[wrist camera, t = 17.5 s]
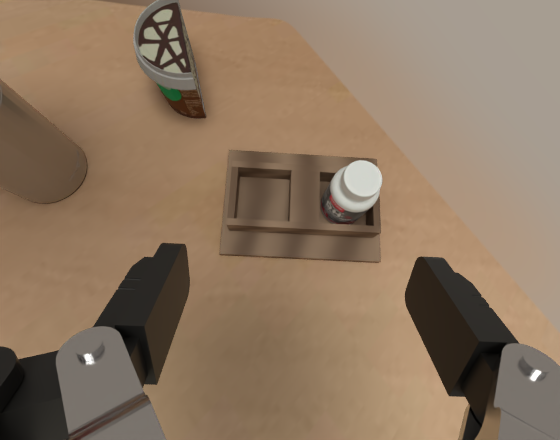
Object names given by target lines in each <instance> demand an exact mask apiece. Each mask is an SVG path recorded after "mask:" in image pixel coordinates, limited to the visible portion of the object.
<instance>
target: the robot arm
mask: <svg viewBox="0 0 560 440" xmlns="http://www.w3.org/2000/svg"><path fill="white" fill-rule="evenodd" d="M86 170H87V162H86V157H85V155H84V152H83V151H82V150H81V148H80V147H79V146H77V145H76V144H75V143H74V142H73V141H72V140H70V139H69V138H68V137H67V136H66V135H65V134H64V133H62V132H61V131H60V130H59V129H58V128H57V127H56V126H55V125H53V124H52V123H51V122H50V121H49V120H48V119H46V118H45V117H44V116H43V115H42V114H41V113H39V112H38V111H37V110H36V109H35V108H34V107H32V106H31V105H30V104H29V103H28V102H27V101H25V100H24V99H23V98H22V97H21V96H20V95H18V94H17V93H16V92H15V91H14V90H13V89H11V88H10V87H9V86H8V85H7V84H6V83H4V82H3V81H2V80H1V79H0V187H1V188H3V189H5V190H7V191H10V192H12V193H14V194H16V195H18V196H21V197H23V198H25V199H27V200H30V201H33V202H36V203H52V202H56V201H59V200H62V199H64V198H66V197H68V196H69V195H71V194H72V193H73V192H74V191H75V190H76V189H77V188H78V187H79V186H80V185H81V183H82V181H83V180H84V177H85V174H86ZM189 287H190V277H189V267H188V257H187V248H186V245H185V244H174V243H162V244H161V245H160V246H159V248H158V250H157V251H156V253H155V255H154V257H144V258H142V259H141V260H140V261H138V262H137V263H136V264H134V265H133V266H132V267H131V269H130V270H129V272H128V273H127V275H126V276H125V279H124V280H123V281H122V283H121V284H120V286H119V287H118V290H116V292H115V294H114V295H113V297H112V298H111V300H110V301H109V303H108V304H107V306H106V308H105V309H104V311H103V312H102V314H101V315H100V317H99V318H98V320H97V321H96V323H95V325H94V326H93V328H89V329H86V330H84V331H81V332H79V333H77V334H76V335H74V336H73V337H71V338H70V339H69V340H68V341H66V342H65V343H64V344H63V346H62V347H61V348H60V350H58V351H54V352H50V353H46V354H41V355H36V356H32V357H27V358H23V359H18V358H17V356H16V355H15V353H14V351H13V350H11V349H9V348H7V347H0V440H166V438H165V436H164V433H163V431H162V428H161V426H160V423H159V421H158V419H157V416H156V414H155V411H154V409H153V406H152V404H151V402H150V400H149V398H148V396H147V395H145V393H144V391H143V389H142V388H143V386H144V384H154V385H157V383H158V380H159V377H160V374H161V371H162V369H163V366H164V363H165V360H166V357H167V354H168V351H169V349H170V346H171V343H172V340H173V337H174V334H175V332H176V329H177V326H178V323H179V320H180V317H181V315H182V312H183V309H184V306H185V303H186V300H187V297H188V293H189ZM405 303H406V307H407V309H408V311H409V313H410V315H411V317H412V320H413V322H414V324H415V326H416V328H417V330H418V332H419V334H420V336H421V339H422V341H423V343H424V345H425V347H426V349H427V351H428V353H429V355H430V357H431V360H432V362H433V364H434V366H435V368H436V370H437V372H438V374H439V376H440V378H441V381H442V383H443V385H444V387H445V389H446V391H447V393H448V395H449V396H460V397H466V399H467V401H468V403H469V404H468V406H467V407H466V409H465V412H464V417H463V421H462V425H461V429H460V434H459V438H458V440H560V366H559V365H558V364H557V363H556V362H555V361H553V360H552V359H551V358H550V357H548V356H547V355H546V354H544V353H542V352H541V351H539V350H537V349H535V348H533V347H530V346H527V345H524V344H519V342H518V341H517V340H516V339H515V337H514V336H513V335H512V333H511V332H510V331H509V330H508V328H507V327H506V326H505V325H504V323H503V322H502V321H501V319H500V318H499V317H498V316H497V314H496V313H495V312H494V311H493V309H492V308H489V304H488V303H487V302H486V300H485V299H484V298H482V297H481V294H480V293H479V292H478V290H477V289H476V288H475V286H474V285H473V284H472V283H471V282H470V281H468V280H467V279H466V278H464V277H463V276H462V275H460V274H459V273H455V272H454V271H453V270H452V268H451V267H450V266H449V264H448V263H447V262H446V260H445V259H444V258H439V257H418V258H417V260H416V262H415V265H414V267H413V270H412V273H411V276H410V279H409V282H408V285H407V288H406V291H405Z"/></svg>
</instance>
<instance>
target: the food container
mask: <svg viewBox="0 0 560 440" xmlns="http://www.w3.org/2000/svg"><path fill="white" fill-rule="evenodd" d="M133 39H134V48H135V53H136V57H137V61H138V63H139V65H140V67H141V69H142V70H143V71H144V73H145V74H146V75H147V76H148V77H149V78H151V79H152V80H154V81H155V82H156V83H157V85H158V86H159V88H160V89H161V91H162V93H163V94H164V96H165V98H166V99H167V101H168V103H169V104H170V106H171V107H172V108H173V109H174V110H175V111H177V112H178V113H180V114H182V115H184V116H187V117H191V118H206V114H205V109H204V104H203V99H202V94H201V89H200V84H199V79H198V74H197V69H196V64H195V60H194V56H193V53H192V49H191V45H190V42H189V38H188V35H187V31H186V27H185V24H184V20H183V16H182V13H181V9H180V5H179V1H178V0H157V1H155V2H154V3H152V4H151V5H149V6H148V7H147V8H146V9H145V10H144V11H143V12H142V13H141V15H140V16H139V18H138V20H137V22H136V25H135V29H134V37H133Z"/></svg>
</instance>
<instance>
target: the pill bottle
mask: <svg viewBox="0 0 560 440" xmlns="http://www.w3.org/2000/svg"><path fill="white" fill-rule="evenodd" d="M381 185H382V175H381V172H380V170H379V169H378V168H377V167H376V166H375V165H374V164H372V163H371V162H368V161H364V160H358V161H354V162H352V163H351V164H349V165H348V166H346V167H343V168H341V169H340V170H339V171H338V172H337V173H336V174H335V175H334V176H333V178H332V180H331V182H330V184H329V185H328V187H327V189H326V191H325V193H324V195H323V197H322V199H321V211H322V213H323V215H324V217H325V218H326V219H327V220H328V221H329V222H331V223H333V224H348V225H350V224H352V223H354V222H355V221H356V220H358V219H359V218H360V217H361V216H362V215H363V214H364V213H365V212H366V211H368V210H369V209H370V208H371V207H372V206H373V205H374V204H375V202H376V201H377V199H378V197H379V193H380V188H381Z"/></svg>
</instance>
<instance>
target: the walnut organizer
mask: <svg viewBox="0 0 560 440" xmlns="http://www.w3.org/2000/svg"><path fill="white" fill-rule="evenodd" d="M358 160H364V161H368V162H371V163H372V164H374V165H375V166H376V167H377V159H369V158H353V157H337V156H320V155H304V154H287V153H271V152H254V151H238V150H229V157H228V168H227V179H226V189H225V200H224V211H223V222H222V232H221V243H220V255H232V256H252V257H272V258H293V259H313V260H333V261H353V262H374V263H379V262H381V252H380V233H381V222H380V199H379V197H378V199H377V201H376V202H375V204H374V205H373V206H372V207H371V208H370V209H369V210H368V211H366V212H365V213H364V214H363V215H362V216H361V217H360V218H359V219H358V220H356V221H355V222H354V223H352V224H350V225H348V224H333V223H331V222H329V221H328V220H327V219H326V218H325V217H324V215H323V213H322V211H321V199H322V197H323V195H324V193H325V191H326V189H327V187H328V185H329V184H330V182H331V180H332V178H333V176H334V175H335V174H336V173H337V172H338V171H339V170H340V169H341V168H343V167H346V166H348V165H349V164H351V163H352V162H354V161H358Z"/></svg>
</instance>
